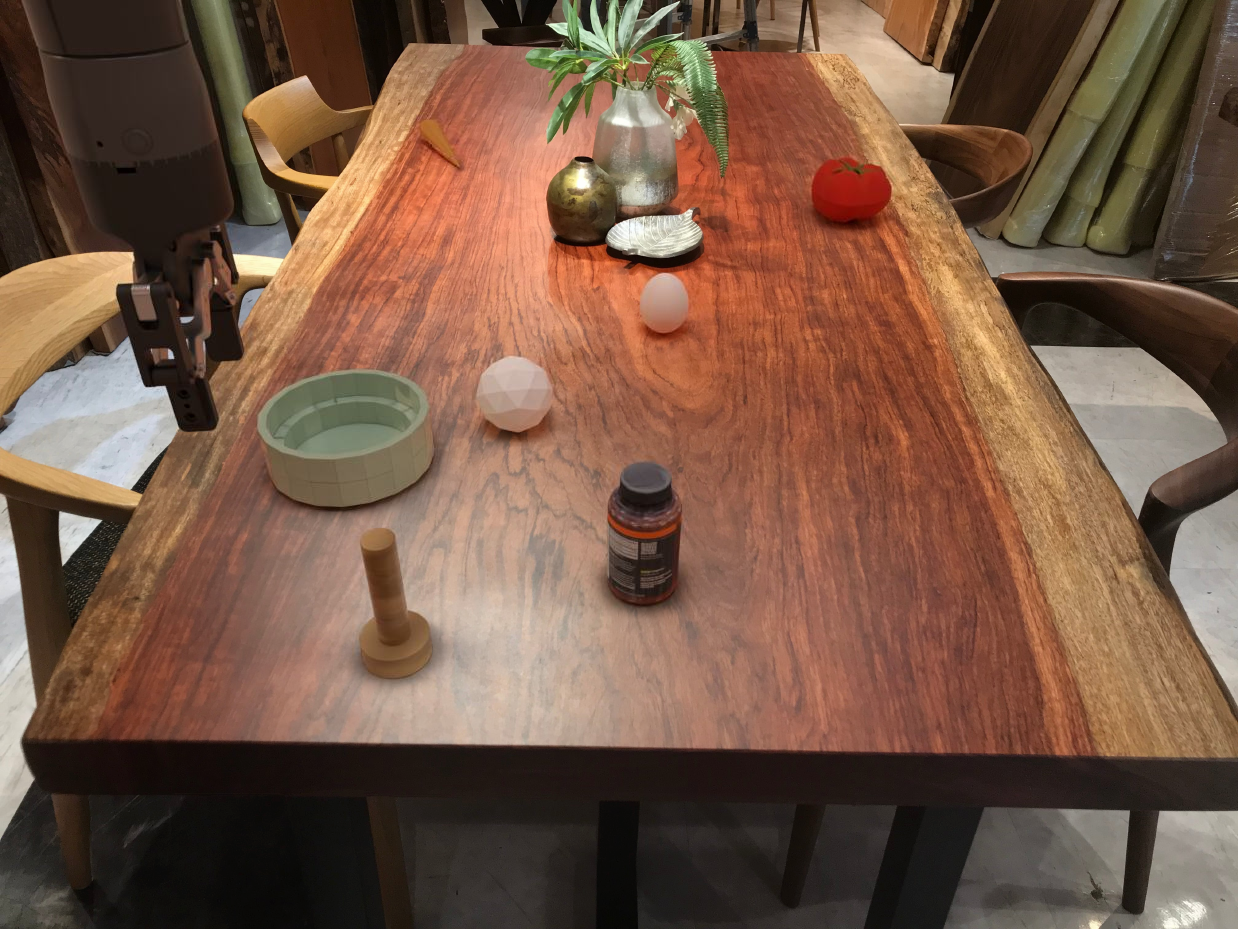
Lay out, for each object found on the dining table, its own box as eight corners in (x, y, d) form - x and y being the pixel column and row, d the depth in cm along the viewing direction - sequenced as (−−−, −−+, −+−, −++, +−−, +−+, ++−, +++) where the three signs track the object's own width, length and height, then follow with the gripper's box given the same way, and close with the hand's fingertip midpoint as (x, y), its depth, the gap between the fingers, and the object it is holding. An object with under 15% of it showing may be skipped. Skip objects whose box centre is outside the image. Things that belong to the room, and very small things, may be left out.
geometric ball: (508, 456, 94) (465, 421, 88) (500, 396, 98) (458, 359, 92) (571, 428, 92) (530, 391, 86) (560, 368, 96) (521, 328, 90)
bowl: (235, 489, 84) (220, 436, 81) (332, 406, 96) (322, 357, 93) (379, 528, 80) (370, 474, 77) (461, 436, 92) (457, 386, 89)
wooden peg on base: (349, 667, 67) (323, 552, 60) (386, 620, 71) (365, 507, 64) (410, 687, 66) (390, 572, 59) (444, 637, 70) (429, 524, 63)
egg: (681, 318, 115) (685, 262, 110) (691, 340, 110) (696, 283, 106) (634, 320, 114) (636, 264, 109) (643, 343, 109) (645, 286, 105)
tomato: (896, 234, 140) (908, 178, 135) (815, 232, 140) (824, 176, 134) (875, 203, 151) (885, 150, 146) (801, 201, 151) (809, 148, 146)
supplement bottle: (648, 549, 79) (653, 444, 72) (691, 588, 75) (701, 481, 68) (592, 576, 76) (593, 469, 69) (634, 618, 72) (639, 509, 65)
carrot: (422, 143, 174) (412, 122, 171) (442, 132, 175) (432, 111, 171) (455, 185, 161) (444, 163, 158) (476, 173, 162) (466, 151, 158)
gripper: (107, 100, 53) (180, 342, 63) (15, 180, 42) (121, 460, 51) (239, 98, 54) (291, 336, 64) (184, 175, 43) (257, 451, 52)
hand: (215, 391), depth 58 cm, fingers open, 8 cm apart
